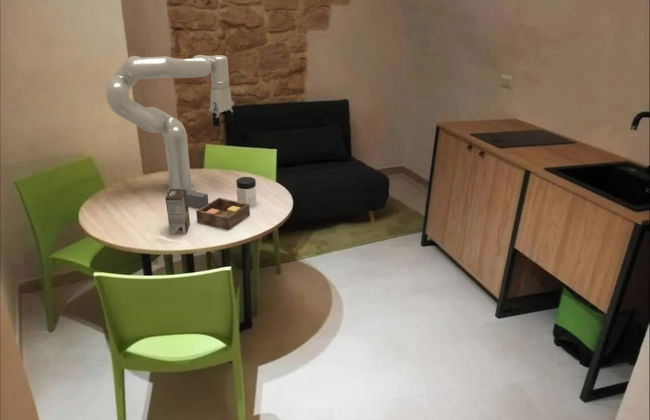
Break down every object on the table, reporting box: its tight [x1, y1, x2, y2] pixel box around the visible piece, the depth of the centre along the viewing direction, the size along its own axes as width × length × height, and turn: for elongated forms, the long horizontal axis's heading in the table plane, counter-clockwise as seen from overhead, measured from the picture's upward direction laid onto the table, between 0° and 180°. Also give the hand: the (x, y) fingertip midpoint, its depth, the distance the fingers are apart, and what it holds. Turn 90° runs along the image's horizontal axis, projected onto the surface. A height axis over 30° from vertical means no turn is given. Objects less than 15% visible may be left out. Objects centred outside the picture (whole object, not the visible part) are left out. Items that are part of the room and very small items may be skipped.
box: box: [196, 197, 251, 231], centre depth 198 cm, size 15×15×6 cm
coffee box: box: [165, 189, 191, 235], centre depth 186 cm, size 9×6×16 cm
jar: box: [236, 176, 257, 208], centre depth 210 cm, size 9×8×12 cm
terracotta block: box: [206, 208, 220, 215], centre depth 196 cm, size 4×4×4 cm
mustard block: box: [227, 206, 240, 217], centre depth 199 cm, size 4×4×4 cm
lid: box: [186, 190, 209, 210], centre depth 209 cm, size 16×16×7 cm
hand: (223, 123), depth 221 cm, fingers open, 9 cm apart
